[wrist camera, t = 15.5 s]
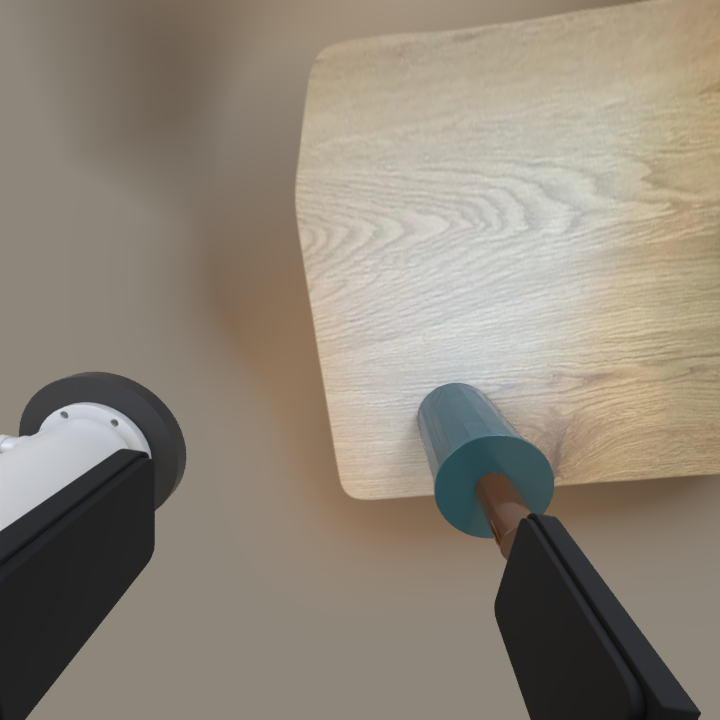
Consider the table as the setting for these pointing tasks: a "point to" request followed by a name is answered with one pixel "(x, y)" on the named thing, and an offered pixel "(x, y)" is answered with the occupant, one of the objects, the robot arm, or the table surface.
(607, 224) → the table surface
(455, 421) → the pot
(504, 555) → the lid
